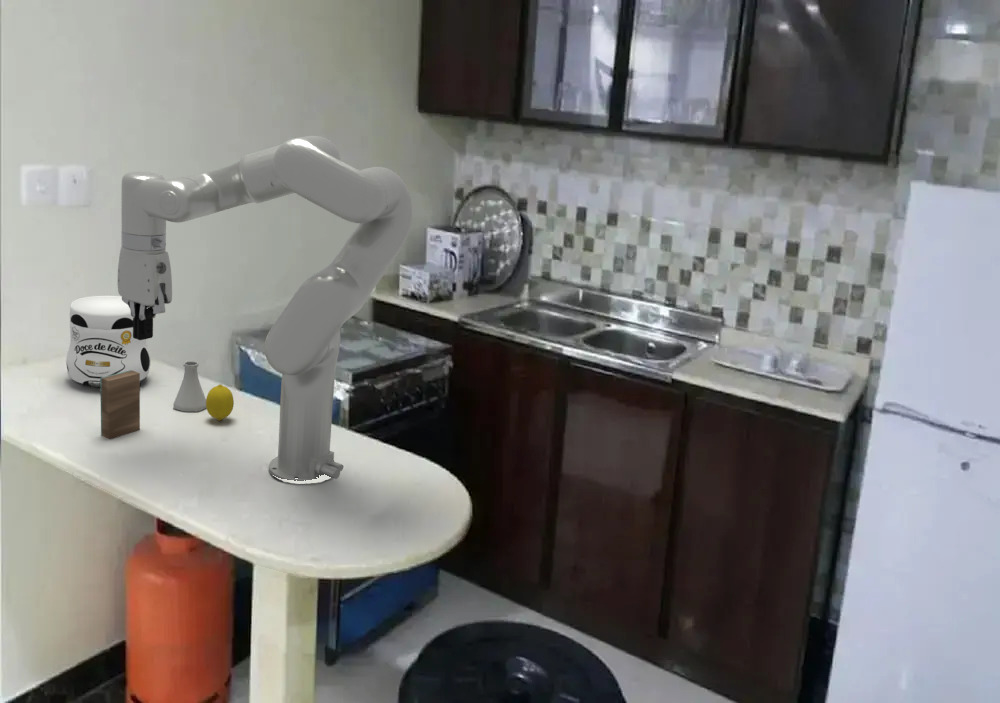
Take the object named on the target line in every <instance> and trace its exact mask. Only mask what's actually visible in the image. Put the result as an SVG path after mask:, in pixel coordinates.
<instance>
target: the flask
mask: <svg viewBox="0 0 1000 703" xmlns="http://www.w3.org/2000/svg"><path fill="white" fill-rule="evenodd" d="M199 363H200V362H199V361H196V360H185V361H183V363H182V364H183V367H184V372H183V379H182V381H181V384H180V386H179V390H178V392H177V394H176V397H175V398H174V401H173V407H172V408H173V409H174V410H179V411H181V412H201V411H202V410H203V411H204V410H205V409H207V408H206V399H207V397H205V396H206V395H205V393H204V391H203V389H202V385H201V381H200V379H199V373H198V367H199Z"/></svg>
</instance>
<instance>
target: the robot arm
mask: <svg viewBox="0 0 1000 703" xmlns="http://www.w3.org/2000/svg"><path fill="white" fill-rule="evenodd" d="M293 194H297V195H298V196H300V197H301V198H303V199H305V200H307V201H308V202H310V203H313V204H314V205H316V206H318V207H319V208H322V209H323V210H325V211H328V212H329V213H331V214H333V215H334V216H336V217H338V218H340V219H342V220H345V221H348V222H350V223H354V224H358V226H357V227H356V228H355V230H354V231H353V232H352V234H350V236H349V237H348V239H346V241H345V243H344V245H343V246H342V248H341V249H340V251H339V252H338V254H337V255H336V256H335V258H334V259H333V260H332V261H331V263H329V265H328V266H326V267H324V268H323V269H322V270H320V271H318V272H316V273H314V274H313V275H311V276H310V277H308V278H307V279H306V280H305V281H304V282H302V284H301V285H300V287H299V288H298V289H296V292H294V294H293V296H292V297H291V299H290V300H289V302H288V303H287V305H285V307H284V309H283V310H282V312H281V314H280V315H279V316H278V318H277V319H276V320H275V322H274V324H273V325H272V326H271V328H270V329H269V331H268V333H267V335H266V337H265V342H264V355H265V358H266V360H267V363H268V364H269V366H270V367H271V368H272V369H273V370H274V371H276V372H278V373H279V374H282V375H281V382H280V383H281V384H280V388H281V389H280V403H279V427H278V428H279V429H278V448H277V449H278V451H277V456H276V457H274V458H273V459H272V460H271V461H269V464H268V472H269V471H270V472H269V474H270V473H271V474H272V475H274V476H276V477H278V478H281V479H287V480H294V481H296V480H297V481H304V480H305V481H306V480H312V479H317V478H316V477H318V478H319V475H320V476H321V475H324V474H325V475H327V476H329V477H331V479H334V480H337V479H338V478H339V477H340V475H341V472H342V471H343V470H344V465H343V464H341V463H340V462H335V452H333V451H331V437H332V435H331V434H332V422H333V404H334V394H335V393H334V390H335V380H336V379H335V378H336V369H337V363H338V357H339V354H340V346H341V331H340V329H341V328H342V326H343V325H345V323H346V322H347V321H348V320H350V319H351V318H352V317H353V316H355V315H356V314H357V313H358V312H360V311H361V309H362V308H363V306H364V305H365V303H366V301H367V300H368V298H369V297H370V295H371V293H372V292H373V291H374V290H375V288H376V286H377V285H378V283H379V282H380V281H381V279H382V278H383V276H384V275H385V273H386V272H387V269H389V267H390V265H392V262H393V261H394V260H395V259H396V257H397V256H398V254H399V252H400V251H401V249H402V247H403V246H404V243H405V242H406V240H407V237H408V236H409V232H410V230H411V226H412V220H413V203H412V199H411V196H410V192H409V189H408V187H407V186H406V183H405V182H404V181H403V179H402V178H401V177H400V176H399V174H397V173H396V172H395V171H393V170H391V169H389V168H388V167H383V166H372V167H367V168H362V169H357V168H356V167H353V166H352V165H350V164H348V163H345V162H344V161H342V160H341V155H340V153H339V150H338V148H337V146H336V145H335V143H333V142H332V141H331V140H329V139H328V138H326V137H324V136H321V135H307V136H301V137H295V138H290V139H288V140H286V141H284V142H283V143H282V144H279V145H275V146H272V147H268V148H265V149H262V150H261V149H260V150H258V151H254V152H252V153H248V154H245V155H243V156H241V157H240V159H239V160H238V161H236V162H234V163H232V164H230V165H227V166H224V167H223V166H222V167H220V168H216V169H213V170H210V171H209V170H208V171H207V172H202V173H200V174H198V173H197V174H194V175H189V176H188V175H187V176H182V177H179V178H171V179H166V178H165V177H164V176H163V175H161V174H159V173H156V172H155V173H153V172H149V171H148V172H147V171H129V172H126V173H125V174H124V175H123V176H122V179H121V236H120V237H121V243H120V244H121V246H120V251H119V256H118V264H117V265H118V267H117V292H118V294H119V295H118V296H122V301H123V302H125V303H126V304H127V305H128V306H129V308H130V312H131V316H132V317H134V318H133V338H135V339H138V340H144V339H146V340H148V339H152V338H153V337H154V319H155V318H156V317H157V316H156V315H157V314H158V315H160V314H164V313H166V306H165V304H166V305H167V304H168V305H169V304H171V302H172V300H173V283H172V282H173V280H172V268H171V262H170V255H169V252H168V251H166V248H167V247H166V246H167V242H166V241H167V222H171V223H177V224H178V223H185V222H188V221H191V220H194V219H198V218H201V217H206V216H209V215H213V214H216V213H219V212H223V211H226V210H230V209H233V208H237V207H240V206H243V205H247V204H252V203H255V204H260V203H265V202H268V201H271V200H275V199H280V198H282V197H285V196H289V195H293ZM271 474H270V475H271ZM272 475H271V476H272ZM295 478H298V479H295Z"/></svg>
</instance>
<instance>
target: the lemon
mask: <svg viewBox="0 0 1000 703" xmlns="http://www.w3.org/2000/svg"><path fill="white" fill-rule="evenodd" d="M234 401H235V400H234V396H233V392H232V391H231V390H230V388H228V387H226V386H224V385H223V384H218V385H216V386H213V387H212V388H211V389H210V390H209V391H208V393H207V396H206V408H205V409H206V411H207V413H208V415H210V417H212V418H214V419H216V420H217V421H219V422H220V421H222V420H223V419H226V418H227V417H228V416H230V415H231V413H232V412H233V409H234V404H235V403H234Z"/></svg>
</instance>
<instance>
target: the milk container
mask: <svg viewBox="0 0 1000 703" xmlns="http://www.w3.org/2000/svg"><path fill="white" fill-rule="evenodd" d="M133 318H134V317H132V316H131V312H130V308H129V306H128V305H127V304H126V303H125V302H123V301H122V296H120V295H111V294H110V295H108V294H107V295H89V296H85V297H81V298H80V297H79V298H76V299H75V300H72V301H71V303H70V308H69V332H70V336H69V337H70V341H69V347H68V350H67V355H66V360H65V362H66V370H67V374H68V376H69V378H70V379H71V380H72V381H73V382H74V383H75V384H78V385H81V386H82V387H87V388H94V389H100V378H101V377H105V376H109V375H113V374H117V373H121V372H125V371H129V370H132V371H135V372H138V373H140V383H141V382H142V381H144V380H145V379H146V378H147V377H148V375H149V374H150V369H151V354H150V350H149V347H148V344H147V339H144V340H138V339H135V338H133Z"/></svg>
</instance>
